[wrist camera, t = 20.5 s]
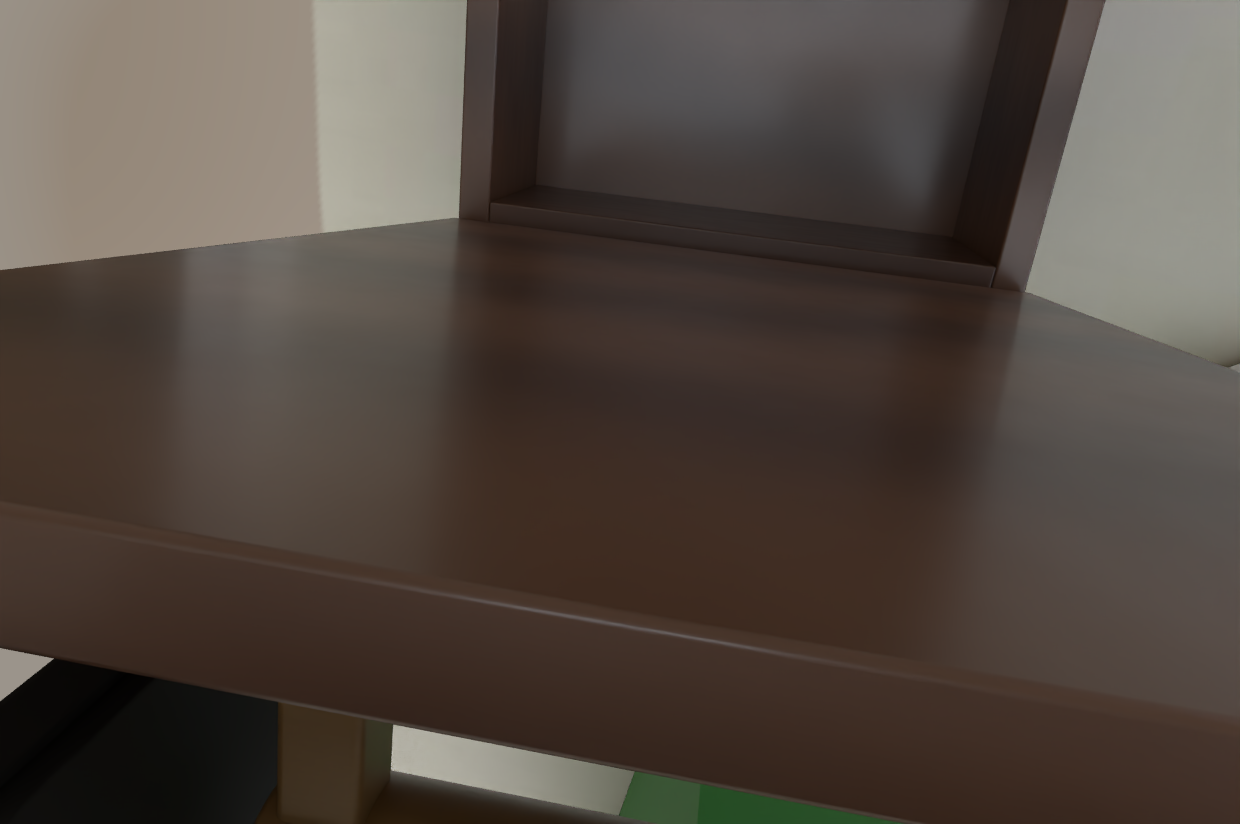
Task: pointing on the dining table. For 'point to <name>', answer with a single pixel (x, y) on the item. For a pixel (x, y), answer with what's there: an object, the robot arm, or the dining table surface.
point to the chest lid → (633, 522)
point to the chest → (779, 126)
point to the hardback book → (720, 806)
